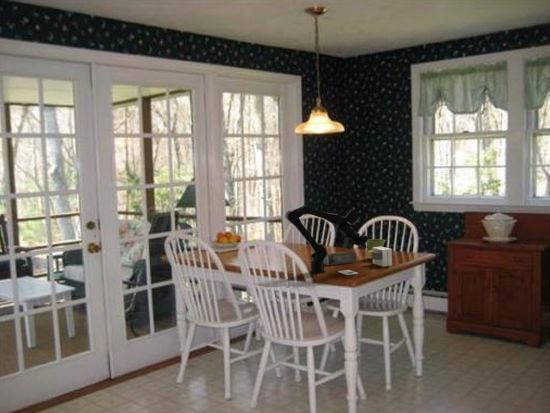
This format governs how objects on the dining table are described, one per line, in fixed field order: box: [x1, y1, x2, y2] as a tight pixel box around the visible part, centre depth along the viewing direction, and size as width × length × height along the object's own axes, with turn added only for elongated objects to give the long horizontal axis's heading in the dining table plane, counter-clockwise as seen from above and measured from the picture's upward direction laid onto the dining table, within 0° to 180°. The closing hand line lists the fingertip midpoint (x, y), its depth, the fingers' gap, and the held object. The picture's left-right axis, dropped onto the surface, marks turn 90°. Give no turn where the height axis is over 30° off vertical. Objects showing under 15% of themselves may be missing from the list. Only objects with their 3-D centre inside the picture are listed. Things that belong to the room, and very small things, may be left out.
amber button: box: [366, 250, 377, 260], centre depth 330 cm, size 4×3×4 cm
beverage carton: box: [323, 250, 357, 266], centre depth 339 cm, size 8×19×7 cm, turn 114°
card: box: [337, 269, 359, 276], centre depth 309 cm, size 7×10×1 cm
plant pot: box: [366, 238, 386, 260], centre depth 349 cm, size 12×12×11 cm
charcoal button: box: [371, 252, 382, 260], centre depth 325 cm, size 4×3×4 cm
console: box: [372, 246, 393, 267], centre depth 329 cm, size 6×11×10 cm, turn 22°
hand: (365, 248), depth 321 cm, fingers closed
